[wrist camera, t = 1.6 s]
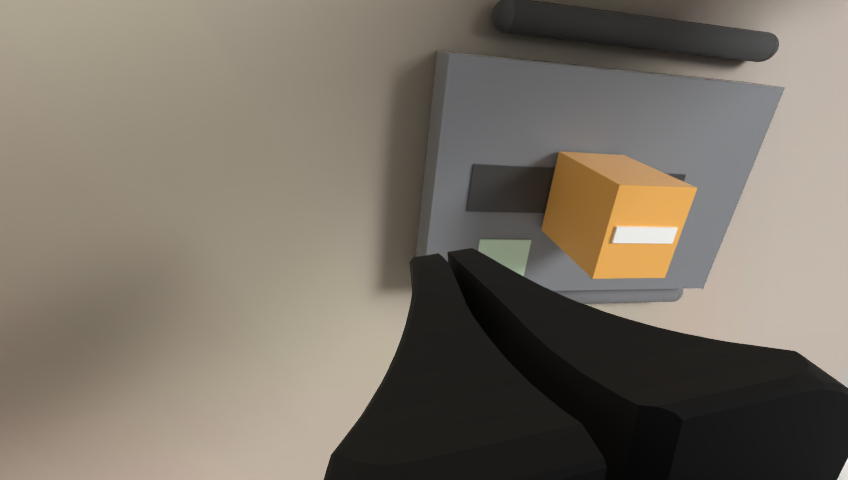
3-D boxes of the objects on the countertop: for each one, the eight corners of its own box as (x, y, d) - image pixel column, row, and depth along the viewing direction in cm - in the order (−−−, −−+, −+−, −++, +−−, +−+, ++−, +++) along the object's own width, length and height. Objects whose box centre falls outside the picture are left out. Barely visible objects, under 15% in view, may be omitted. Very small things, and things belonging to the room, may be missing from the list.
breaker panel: (746, 82, 22) (786, 87, 20) (676, 269, 26) (704, 288, 24) (436, 50, 18) (450, 53, 16) (413, 271, 22) (422, 294, 20)
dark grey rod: (766, 33, 21) (790, 34, 20) (755, 61, 21) (778, 64, 20) (490, -4, 18) (501, -6, 17) (485, 30, 18) (496, 31, 17)
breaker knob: (623, 154, 19) (699, 188, 15) (602, 230, 21) (666, 279, 17) (558, 151, 19) (621, 185, 15) (541, 229, 20) (594, 280, 16)
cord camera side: (675, 275, 26) (691, 286, 25) (669, 294, 26) (683, 305, 25) (450, 278, 23) (456, 290, 22) (447, 298, 23) (453, 312, 22)
